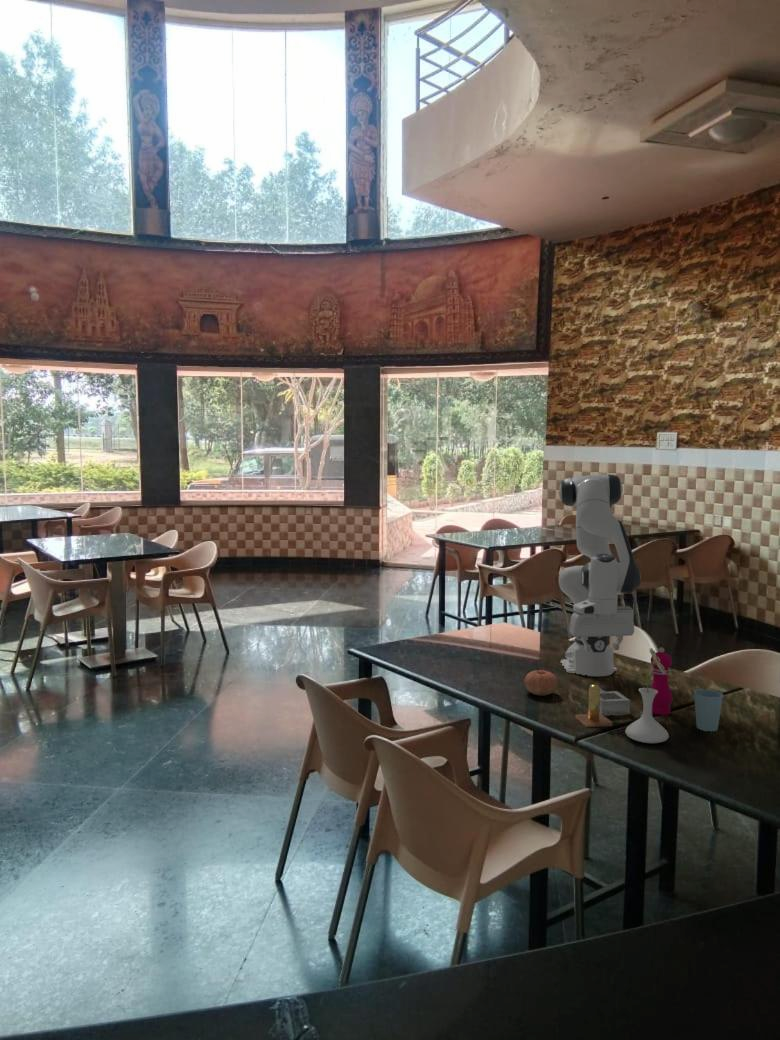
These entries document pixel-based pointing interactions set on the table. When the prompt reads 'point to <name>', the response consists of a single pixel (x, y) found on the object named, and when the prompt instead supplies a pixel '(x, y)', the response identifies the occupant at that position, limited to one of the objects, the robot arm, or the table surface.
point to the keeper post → (594, 710)
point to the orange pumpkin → (541, 682)
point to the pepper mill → (661, 684)
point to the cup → (707, 709)
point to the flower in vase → (648, 714)
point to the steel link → (613, 703)
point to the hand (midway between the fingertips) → (601, 650)
